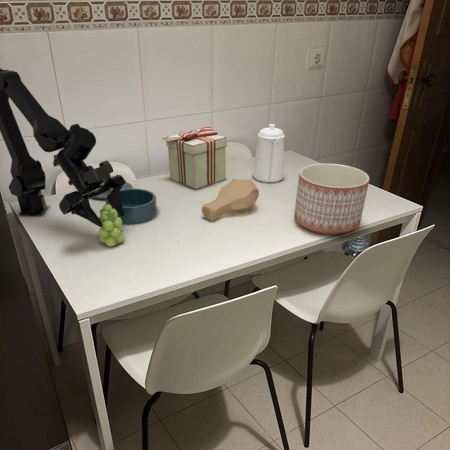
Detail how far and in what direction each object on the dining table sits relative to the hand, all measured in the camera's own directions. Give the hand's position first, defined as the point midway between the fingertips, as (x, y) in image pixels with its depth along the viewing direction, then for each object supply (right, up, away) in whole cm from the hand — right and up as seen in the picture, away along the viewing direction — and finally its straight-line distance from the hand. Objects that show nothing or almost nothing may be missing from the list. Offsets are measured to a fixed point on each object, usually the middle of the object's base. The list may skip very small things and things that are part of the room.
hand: (112, 221), depth 116 cm
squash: (+31, +7, +22) cm, 39 cm away
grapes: (-1, -5, +4) cm, 7 cm away
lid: (-10, +16, +33) cm, 38 cm away
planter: (+59, +2, +17) cm, 62 cm away
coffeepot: (+45, +24, +47) cm, 69 cm away
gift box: (+18, +23, +45) cm, 53 cm away
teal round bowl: (+1, +6, +20) cm, 21 cm away
